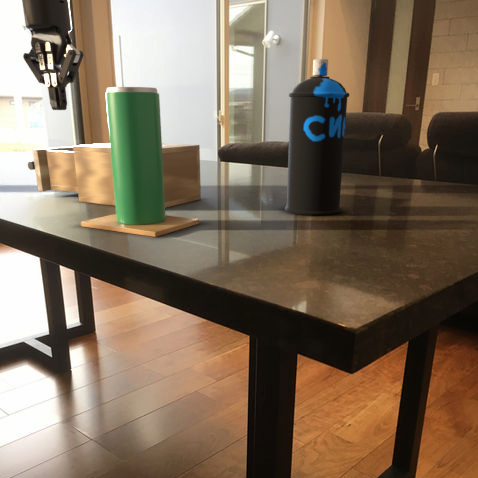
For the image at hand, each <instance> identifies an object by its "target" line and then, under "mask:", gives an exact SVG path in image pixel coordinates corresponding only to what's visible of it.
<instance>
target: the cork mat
mask: <svg viewBox="0 0 478 478" xmlns="http://www.w3.org/2000/svg"><path fill="white" fill-rule="evenodd" d="M165 216H166V219H165V221H163V222H160V223H155V224H147V225H128V224H122V223H119V222H117V220H116V213H114V214H113V213H112V214H108V215H104V216H100V217H95V218H91V219H86V220H83V221H80V227H84V228H90V229H97V230H103V231H104V230H105V231H110V232H111V231H112V232H118V233H124V234H125V233H126V234H132V235H139V236H144V237H145V236H146V237H153V238H157V237H161V236H163V235H167V234H170V233H174V232H176V231H181V230H183V229H186V228H187V229H188V228H189V227H192V226H196V225H199V224H200V219H199V218H191V217H183V216H175V215H166V214H165Z"/></svg>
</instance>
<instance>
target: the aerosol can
mask: <svg viewBox="0 0 478 478" xmlns="http://www.w3.org/2000/svg"><path fill="white" fill-rule="evenodd" d="M328 70H329V59H328V58H314V59H313V64H312V76H310V78H307V79H305V80H303V81H301V82H299V83H298V84H297V85H295V87H294V88H293V89H292V90H291V91H292V92H289V93H288V97H289V98H290V100H289V104H290V105H289V126H288V127H289V128H288V129H289V132H288V161H287V188H286V206H285V207H284V210H285V212H287V213H290V214H295V215H302V216H331V215H336V214H339V213H340V212H341V211H342V207H340V203H341V191H342V176H343V162H344V150H345V149H344V148H345V137H346V122H347V110H348V109H347V108H348V107H347V106H348V98H349V97H350V93H349V92H347V90H346V88H345V87H344V85H343V84H342V83H341V82H339V81H337V80H335V79H332V78H330V76H328V72H329V71H328Z"/></svg>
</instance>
